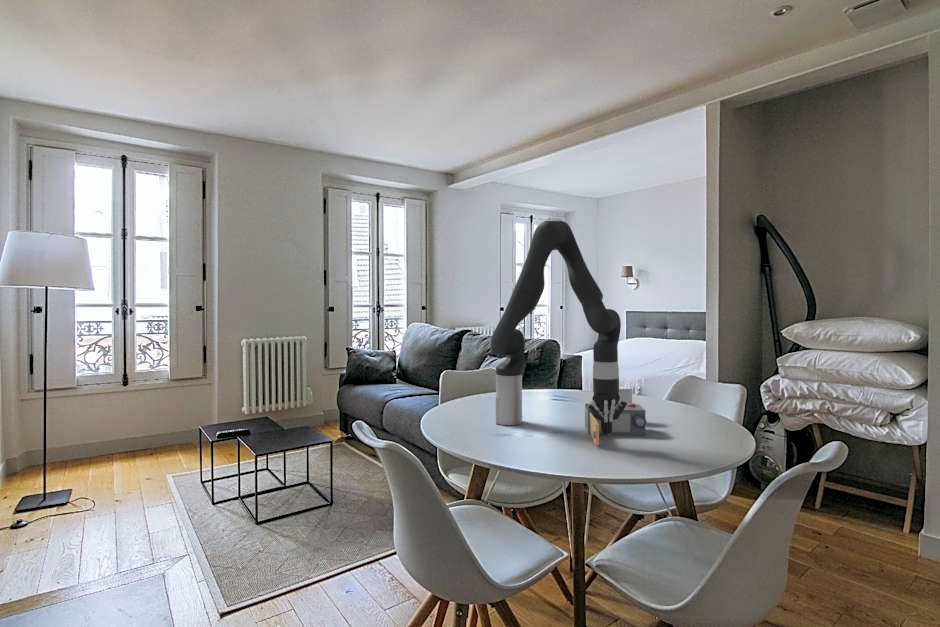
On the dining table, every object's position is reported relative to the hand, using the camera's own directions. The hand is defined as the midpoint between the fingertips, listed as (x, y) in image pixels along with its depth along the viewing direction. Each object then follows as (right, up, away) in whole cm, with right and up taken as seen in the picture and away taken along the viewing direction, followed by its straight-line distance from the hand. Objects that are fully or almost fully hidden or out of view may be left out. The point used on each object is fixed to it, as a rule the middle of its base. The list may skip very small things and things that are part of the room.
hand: (606, 433), depth 152 cm
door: (-3, -3, +5) cm, 7 cm away
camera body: (+7, -3, +17) cm, 19 cm away
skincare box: (+13, -3, +30) cm, 33 cm away
